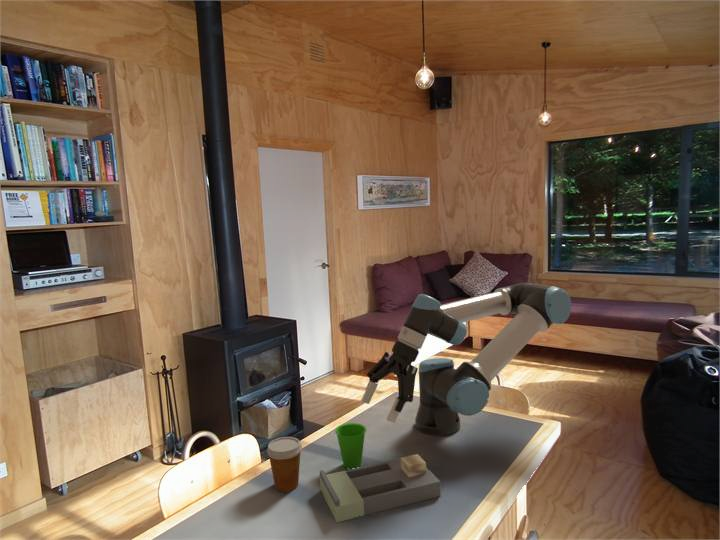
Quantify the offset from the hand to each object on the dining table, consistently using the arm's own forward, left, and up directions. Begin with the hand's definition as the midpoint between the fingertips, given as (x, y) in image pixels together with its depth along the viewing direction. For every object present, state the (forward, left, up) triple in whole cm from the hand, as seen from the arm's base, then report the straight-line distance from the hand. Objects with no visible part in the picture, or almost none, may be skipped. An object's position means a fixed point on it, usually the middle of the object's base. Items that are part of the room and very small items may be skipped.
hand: (377, 411), depth 144 cm
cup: (+7, -3, -16) cm, 18 cm away
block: (-5, +14, -12) cm, 19 cm away
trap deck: (+5, +14, -16) cm, 22 cm away
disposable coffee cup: (+27, 0, -16) cm, 32 cm away
